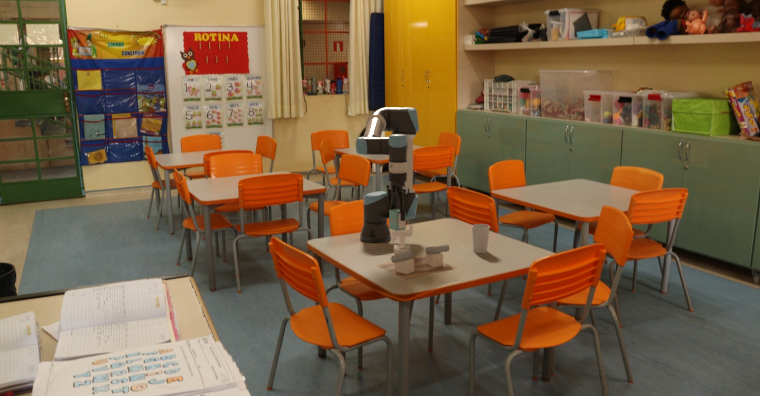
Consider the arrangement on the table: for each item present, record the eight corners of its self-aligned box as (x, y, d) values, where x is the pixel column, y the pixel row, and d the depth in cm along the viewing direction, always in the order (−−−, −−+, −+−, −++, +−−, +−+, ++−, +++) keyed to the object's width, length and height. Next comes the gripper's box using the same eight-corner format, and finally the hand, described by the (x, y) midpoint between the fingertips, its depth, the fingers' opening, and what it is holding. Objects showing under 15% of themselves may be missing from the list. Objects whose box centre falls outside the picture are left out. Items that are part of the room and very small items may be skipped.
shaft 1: (399, 276, 249) (399, 257, 247) (388, 273, 253) (388, 254, 252) (415, 270, 256) (415, 252, 254) (404, 267, 260) (405, 249, 259)
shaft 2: (443, 260, 270) (444, 242, 268) (450, 264, 265) (451, 246, 263) (423, 263, 266) (423, 245, 264) (430, 267, 260) (430, 249, 259)
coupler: (388, 228, 263) (389, 209, 261) (398, 226, 266) (399, 208, 264) (395, 231, 259) (396, 212, 257) (405, 229, 261) (406, 210, 260)
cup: (468, 251, 287) (468, 226, 284) (477, 247, 293) (478, 223, 290) (482, 254, 282) (483, 229, 279) (492, 251, 287) (493, 225, 285)
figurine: (392, 252, 285) (392, 220, 282) (412, 253, 285) (413, 221, 281) (391, 257, 278) (391, 224, 275) (412, 257, 277) (412, 225, 274)
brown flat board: (375, 267, 264) (375, 265, 264) (423, 257, 278) (423, 254, 278) (407, 281, 246) (407, 279, 246) (456, 269, 261) (456, 267, 260)
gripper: (378, 170, 263) (378, 223, 267) (402, 175, 248) (402, 232, 252) (393, 168, 267) (392, 221, 271) (418, 173, 252) (417, 229, 256)
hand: (397, 226), depth 262 cm, fingers closed on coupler, 5 cm apart
